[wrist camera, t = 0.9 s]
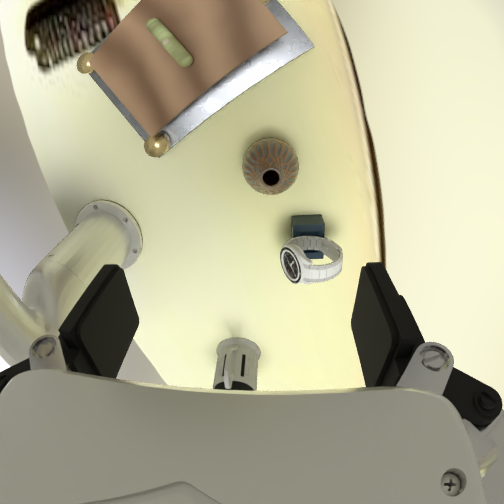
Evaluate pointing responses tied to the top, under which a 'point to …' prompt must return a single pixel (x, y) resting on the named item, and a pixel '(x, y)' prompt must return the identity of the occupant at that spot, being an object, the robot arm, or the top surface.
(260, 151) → the vase
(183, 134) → the base
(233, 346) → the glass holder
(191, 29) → the plate
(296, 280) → the watch
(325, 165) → the top surface
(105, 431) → the robot arm
